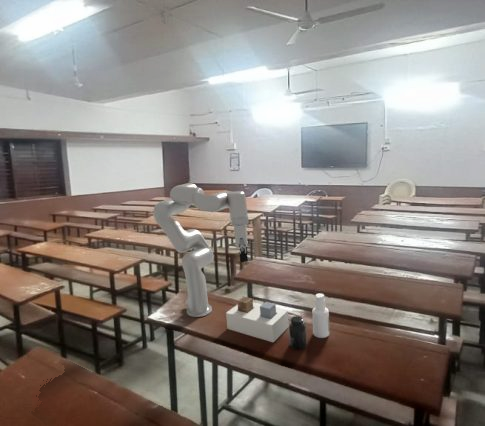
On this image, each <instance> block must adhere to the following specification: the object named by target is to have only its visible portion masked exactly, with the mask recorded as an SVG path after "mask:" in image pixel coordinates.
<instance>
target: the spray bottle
mask: <svg viewBox="0 0 485 426" xmlns="http://www.w3.org/2000/svg"><path fill="white" fill-rule="evenodd" d="M325 301H326V299H325V294H324V293H316V294H315V305H314V308H312V310H311V313H312V314H311V316H312V334H313V336H314V337H316V338H319V339H325V338H327V337H329V336H330V311H329V309H328V308H327V307H326V302H325Z"/></svg>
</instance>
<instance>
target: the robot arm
mask: <svg viewBox="0 0 485 426" xmlns="http://www.w3.org/2000/svg"><path fill="white" fill-rule="evenodd" d="M169 196H170V198H167V199H165V200H162V201H158V203H156V204H155V205H154V208H153V217H154V220H155V222H156V224H157V225H158V226H159V228H160V229H161V230H163V232H164V234H165V235H166V237H167V239H168V240H169V242H170V244H171V245H172V247H174V249H175V251H177V252H178V253H181V254H182V253H185V252H187V251H189V252H187V253H186V254H184V255H183V257H182V258H181V266H182V269H183V271H184V275H185V283H186V290H187V297H188V299H186V300H185V303H184V306H187V309H186V314H187V315H188V316H189V317H192V318H201V317H204V316H207V315H210V313H211V312H212V311H213V308H212V305H210V304H209V301H208V300H209V298H208V291H207V289H208V288H207V281H206V276H205V274H204V272H203V271H202V269H203V268H204V267H206V266H209V264H211V263H212V262H214V258H215V255H214V252H213V250H212V248H211V246H210V245H209V244H208V242H207V241H206V239H205V237H204V236H203V234H202V233H201V232H200V231H199V230H197V229H195V228H190V229H188V230H185V229H184V228H183V227H182V224H180V222H179V221H178V220H176V219H174V218H173V216H176V215H180V214H182V213H184V212H185V211H187V210H188V208H189V207H190V206H193V207H195V208H197V209H198V210H199V211H201V212H202V211H204V212H211V213H215V212H217V213H218V212H219V211H222V210H225V209H227V208H228V210H229V216H230V217H229V218H230V225H231V226H233V230H234V231H233V234H234V242H235V248H236V249H238V248H239V250H238V251H239V260H240V261H239V262H240V263H247V262H249V260H248V253H249V252H248V230H247V229H248V228H247V224H249V214H248V205H247V197H246V193H245V192H244V191H242V190H239V191H238V190H236V191H231V190H222V191H220V192H216V193H212V194H208V193H207V194H205V192H204V190H203V189H202V188H201V187H198V186H197V185H196V184H194V183H191V182H188V183H184V184H178V185H175V186H174V187H172V188H171V190H170V192H169ZM190 250H191V251H190Z"/></svg>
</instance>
